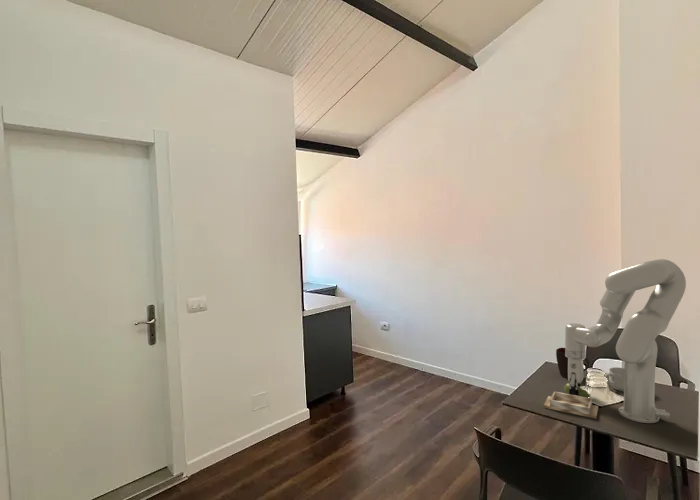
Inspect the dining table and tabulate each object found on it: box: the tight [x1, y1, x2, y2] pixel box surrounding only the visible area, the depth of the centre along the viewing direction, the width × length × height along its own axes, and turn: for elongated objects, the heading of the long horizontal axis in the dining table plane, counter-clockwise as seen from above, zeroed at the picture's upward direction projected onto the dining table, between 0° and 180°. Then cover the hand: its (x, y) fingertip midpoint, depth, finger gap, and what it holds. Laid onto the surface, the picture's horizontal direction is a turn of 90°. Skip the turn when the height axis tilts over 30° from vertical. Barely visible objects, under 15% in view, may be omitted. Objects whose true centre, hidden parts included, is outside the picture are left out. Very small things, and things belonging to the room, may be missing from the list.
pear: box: [563, 382, 591, 398], centre depth 174 cm, size 6×5×10 cm
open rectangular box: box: [543, 391, 599, 419], centre depth 164 cm, size 18×10×4 cm, turn 55°
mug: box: [555, 347, 590, 379], centre depth 197 cm, size 10×14×12 cm
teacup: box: [604, 366, 624, 393], centre depth 181 cm, size 14×11×8 cm
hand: (574, 394), depth 175 cm, fingers closed on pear, 6 cm apart
